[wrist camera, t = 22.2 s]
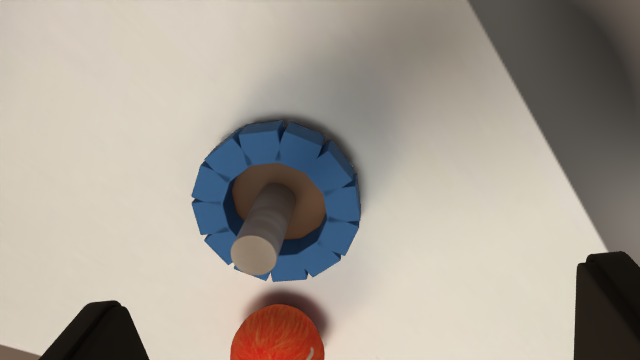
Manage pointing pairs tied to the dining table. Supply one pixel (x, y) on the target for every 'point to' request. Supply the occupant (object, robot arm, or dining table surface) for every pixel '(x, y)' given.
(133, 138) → the dining table surface
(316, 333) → the apple
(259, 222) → the peg on square base
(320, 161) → the collar
